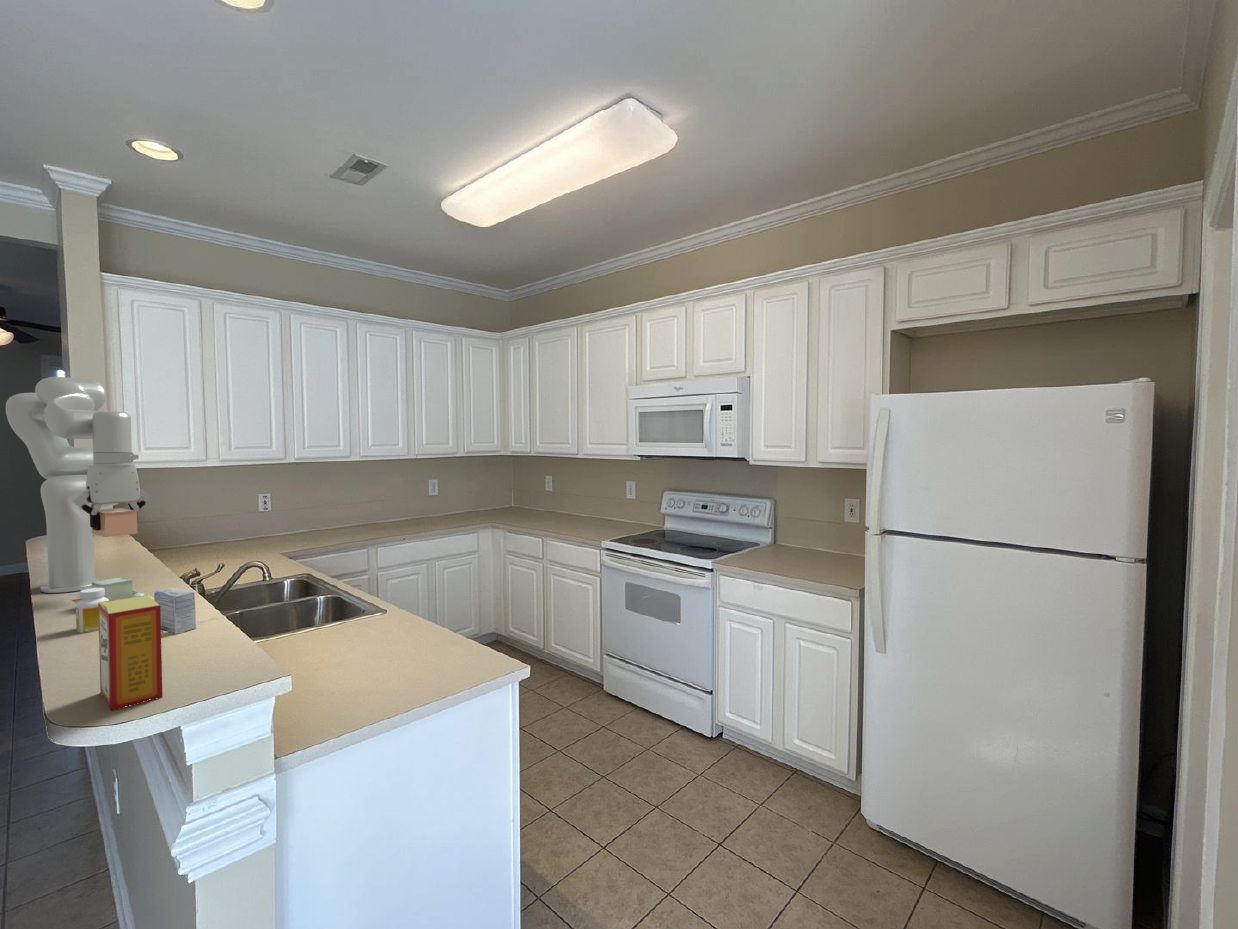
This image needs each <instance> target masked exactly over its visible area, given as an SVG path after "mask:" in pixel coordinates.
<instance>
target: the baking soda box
mask: <svg viewBox="0 0 1238 929" xmlns="http://www.w3.org/2000/svg"><path fill="white" fill-rule="evenodd" d="M149 596H150V595H148V594H145V595H143V596H137V597H130V598H124V599H117V600H111V601H105V602H98V618H99V631H98V644H99V645H98V648H99V649H98V652H99V683H100V684H99V686H100V695H101V694H102V695H101V696H102V698H103V700H104V699H105V700H104V701H105V703H106V705H107V707H108V708H109V710H110V711H111V712H114V711H116V710H120V709H119V708H121V709H124V708H123V707H125V706H128V707H130V706H129V705H132V706H135V705H134V704H136V705H138V704H137V703H140V704H142V703H141V702H143V701H147V700H149V699H155V700H157V699H156V698H158V699H161V698H160V697H162V698H163V666H162V665H163V664H162V663H163V659H162V630H161V629H162V626H161V610H160V605H159V604H158V603H157V602H155V601H154V600H153V599H152V598H150V597H149ZM147 702H148V701H147ZM143 703H144V702H143ZM125 708H126V707H125Z"/></svg>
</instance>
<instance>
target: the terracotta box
mask: <svg viewBox="0 0 1238 929" xmlns="http://www.w3.org/2000/svg"><path fill="white" fill-rule="evenodd" d="M98 515H100V527H101V529H100V530H99V531H96V530H93V528H92V534H94V535H96V536H100V537H103V538H108V537H118V536H128V535H137V534H139V532H138V531H139V530H138V523H139V522H138V523H137V510H132V509H130V508H125V507H118V508H107V509H105V508H104V509H100V510H99V511H98Z"/></svg>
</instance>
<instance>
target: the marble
mask: <svg viewBox="0 0 1238 929" xmlns="http://www.w3.org/2000/svg"><path fill="white" fill-rule="evenodd" d="M143 595H146V594H145V593H143V592H137V593H136V594H134V595H133V596H132V597H137V596H143Z"/></svg>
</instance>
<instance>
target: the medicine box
mask: <svg viewBox="0 0 1238 929" xmlns="http://www.w3.org/2000/svg"><path fill="white" fill-rule="evenodd" d="M153 595H154V596H153V598H154V601H155V602H157V603H158V604H159V605H160V610H161V627H164V628H161V631H162V632H166V633H167V632H168V633H170V634H174V635H178V634H181V633H185V632H189V631H192V630H193V631H194V630H195V629H197V614H196V611H197V610H196V609H197V608H196V592H195V591H194V590H193V591H192V590H188V589H185V588H179V587H171V588H165V589H161V590H158V591H154V594H153Z"/></svg>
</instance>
